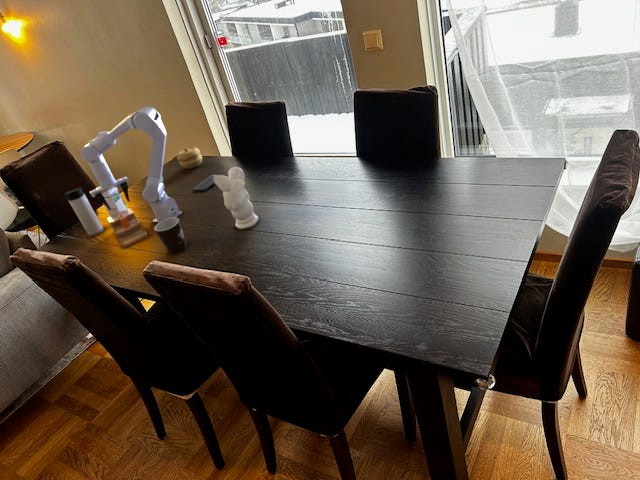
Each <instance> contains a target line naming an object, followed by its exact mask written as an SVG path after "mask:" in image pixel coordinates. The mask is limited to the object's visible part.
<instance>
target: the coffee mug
mask: <svg viewBox="0 0 640 480" xmlns="http://www.w3.org/2000/svg"><path fill="white" fill-rule="evenodd" d="M153 229H154V231H155V233H156V234H157V236H158V237H159V239H160V240H161V242H162V243H163V245H164V247H165V248H166V249H167V251H168V252H169V254H172V255H175V254H179V253H181V252H182V251H184V250H186V248H187V247H188V245H187V242H186V237H185V235H184V231H183V229H182V225H181V220H180V219H179V217H176V218H168V219H165V220H163V221H161V222H157V224H156V225H155V226H154V227H153Z"/></svg>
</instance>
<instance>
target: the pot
mask: <svg viewBox="0 0 640 480" xmlns="http://www.w3.org/2000/svg"><path fill="white" fill-rule="evenodd" d="M176 159H177V161H178V163H179V166H180V167H182V168H183V169H185V170H191V169H195V168H198V167H199V166H200V165H201V163H202V162H203V156H202V154H201V151H200V149H199V148H197V147H185V148H184V149H182V150H180V151H179V152H178V153H177V156H176Z"/></svg>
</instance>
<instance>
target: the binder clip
mask: <svg viewBox="0 0 640 480" xmlns="http://www.w3.org/2000/svg"><path fill="white" fill-rule="evenodd" d="M121 214H122V213H121ZM118 218H119V220H120V222H121V224H122V226H123V227H124V229H126V228H128V227H130V224H129V222H128V220H127V218H126V217H125V215H124V214H122V215H121V216H119V215H118Z"/></svg>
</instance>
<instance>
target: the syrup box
mask: <svg viewBox="0 0 640 480" xmlns="http://www.w3.org/2000/svg"><path fill="white" fill-rule="evenodd" d="M102 195H103V196H104V198H105V200H106V202H107V204H108V205H109V207H110V208H111V210H109V209H108V208H107V207H106V205H105V204H103V203H102V204H103V207H104V208H105V210H106V211H107V213H108V215H109V217H110V216H113V215H115V214H117V213H119V212H122V211H124V210H126V209H129V208H128V206H127V204H126V203H125V200H124V199H123V197H122V194H121V193H120V191H119V189H118V186H117V187H115V188H112V189H110V190H108V191H105V192H103V193H102Z"/></svg>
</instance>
